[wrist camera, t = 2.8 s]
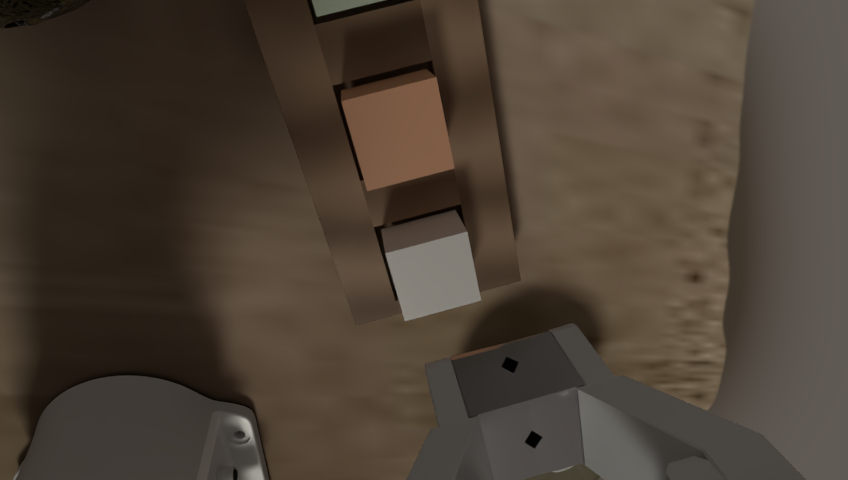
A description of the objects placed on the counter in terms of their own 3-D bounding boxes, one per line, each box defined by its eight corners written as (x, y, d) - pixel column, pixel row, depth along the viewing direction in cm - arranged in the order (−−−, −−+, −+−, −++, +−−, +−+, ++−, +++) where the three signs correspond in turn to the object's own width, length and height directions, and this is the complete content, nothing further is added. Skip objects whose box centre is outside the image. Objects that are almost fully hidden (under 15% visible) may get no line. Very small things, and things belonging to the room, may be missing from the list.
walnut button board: (508, 261, 38) (520, 280, 36) (354, 302, 38) (356, 325, 35) (440, -157, 27) (451, -174, 24) (217, -104, 26) (203, -116, 24)
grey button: (468, 273, 35) (481, 300, 32) (399, 292, 35) (404, 321, 32) (455, 209, 33) (467, 231, 30) (380, 229, 33) (385, 253, 30)
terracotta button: (443, 151, 31) (454, 168, 28) (364, 171, 31) (367, 191, 28) (425, 68, 29) (436, 76, 26) (341, 90, 29) (341, 101, 25)
